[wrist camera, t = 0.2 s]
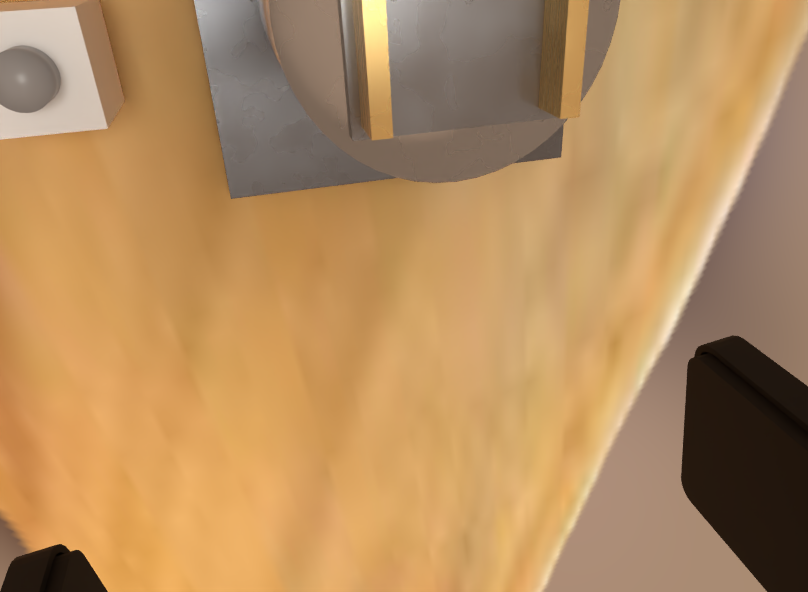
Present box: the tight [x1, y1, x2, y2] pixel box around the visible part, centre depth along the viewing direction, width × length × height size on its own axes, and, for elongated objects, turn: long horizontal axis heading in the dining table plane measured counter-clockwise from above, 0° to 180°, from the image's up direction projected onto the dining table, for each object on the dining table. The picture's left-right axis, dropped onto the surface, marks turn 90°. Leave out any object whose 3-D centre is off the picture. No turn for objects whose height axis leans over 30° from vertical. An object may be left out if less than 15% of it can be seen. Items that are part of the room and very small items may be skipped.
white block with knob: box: [0, 0, 125, 140], centre depth 29 cm, size 5×5×8 cm
